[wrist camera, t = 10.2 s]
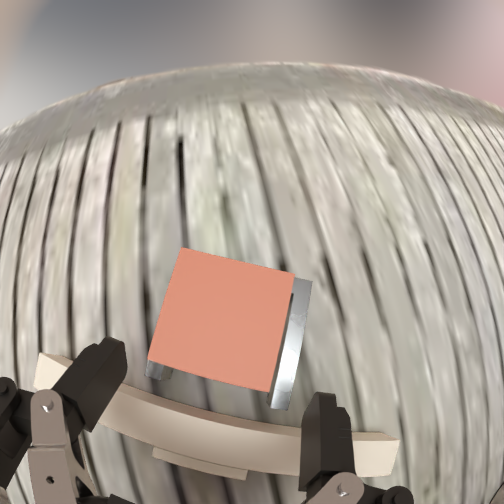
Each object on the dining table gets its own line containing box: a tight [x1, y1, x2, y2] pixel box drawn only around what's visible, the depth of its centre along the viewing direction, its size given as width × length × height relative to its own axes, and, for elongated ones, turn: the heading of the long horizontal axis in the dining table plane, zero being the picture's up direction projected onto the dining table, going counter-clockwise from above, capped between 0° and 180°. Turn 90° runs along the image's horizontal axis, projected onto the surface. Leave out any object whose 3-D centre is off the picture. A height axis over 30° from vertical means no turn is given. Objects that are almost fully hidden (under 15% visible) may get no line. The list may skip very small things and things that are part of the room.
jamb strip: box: [33, 353, 400, 480], centre depth 13 cm, size 24×11×3 cm, turn 78°
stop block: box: [147, 247, 295, 392], centre depth 14 cm, size 4×4×9 cm
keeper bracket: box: [145, 277, 312, 410], centre depth 17 cm, size 8×8×2 cm
